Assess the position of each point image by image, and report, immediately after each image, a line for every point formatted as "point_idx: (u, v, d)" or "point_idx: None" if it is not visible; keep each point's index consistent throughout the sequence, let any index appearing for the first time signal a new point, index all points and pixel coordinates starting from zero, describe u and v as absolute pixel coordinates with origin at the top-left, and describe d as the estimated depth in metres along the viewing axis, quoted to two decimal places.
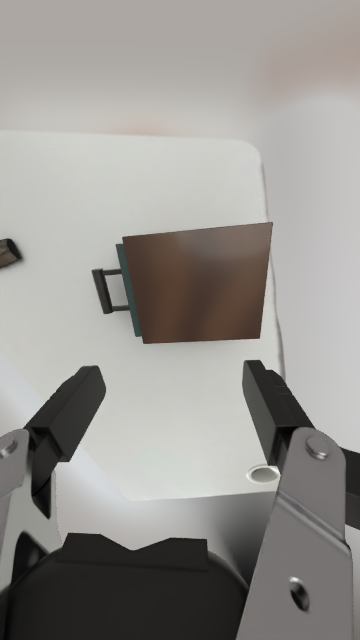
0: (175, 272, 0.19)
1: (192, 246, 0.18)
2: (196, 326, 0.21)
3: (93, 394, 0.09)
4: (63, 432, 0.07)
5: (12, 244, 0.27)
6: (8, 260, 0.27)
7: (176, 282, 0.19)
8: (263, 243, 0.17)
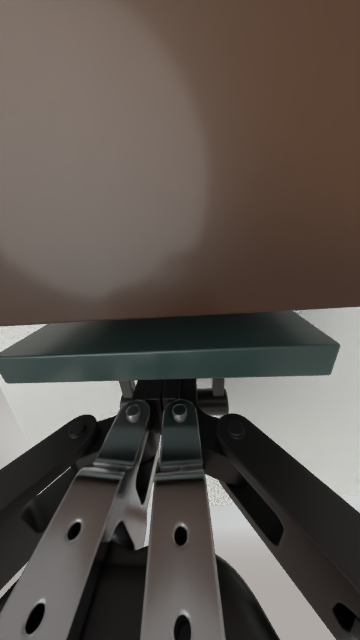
0: None
1: None
2: None
3: None
4: None
5: None
6: None
7: None
8: None
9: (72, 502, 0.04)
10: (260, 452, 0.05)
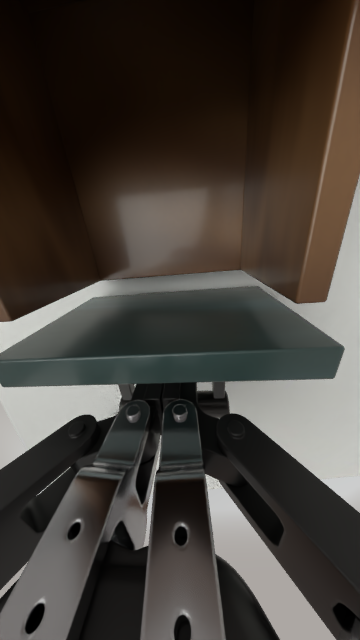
0: None
1: None
2: None
3: None
4: None
5: None
6: None
7: None
8: None
9: (72, 502, 0.04)
10: (260, 452, 0.05)
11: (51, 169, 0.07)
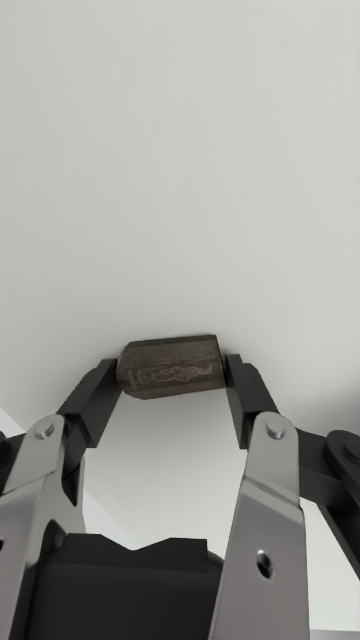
0: None
1: None
2: None
3: (114, 386, 0.10)
4: (91, 419, 0.07)
5: (219, 350, 0.09)
6: (199, 389, 0.10)
7: None
8: None
9: None
10: None
11: None
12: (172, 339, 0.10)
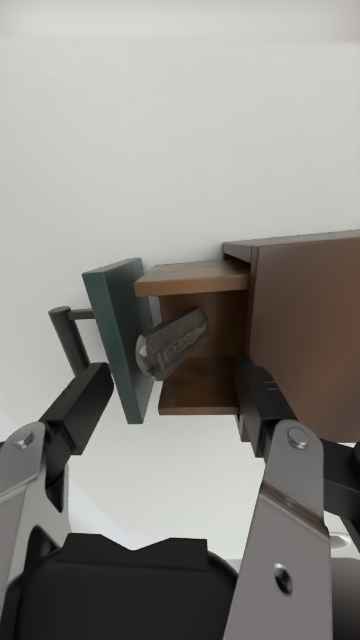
0: None
1: None
2: None
3: (102, 390, 0.09)
4: (76, 426, 0.07)
5: None
6: (197, 347, 0.14)
7: (355, 346, 0.09)
8: None
9: None
10: None
11: None
12: (172, 318, 0.12)
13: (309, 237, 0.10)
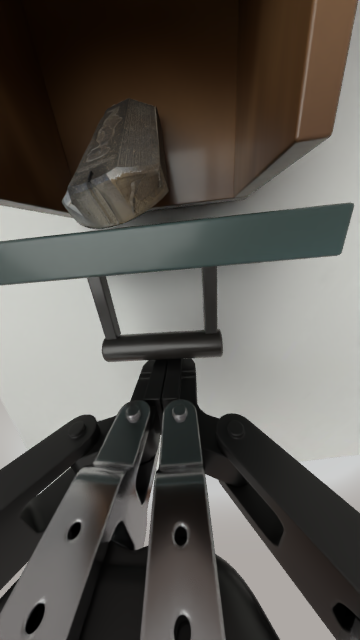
0: None
1: None
2: None
3: None
4: None
5: None
6: (151, 118, 0.07)
7: None
8: None
9: (72, 502, 0.04)
10: (260, 452, 0.05)
11: (16, 55, 0.07)
12: None
13: None
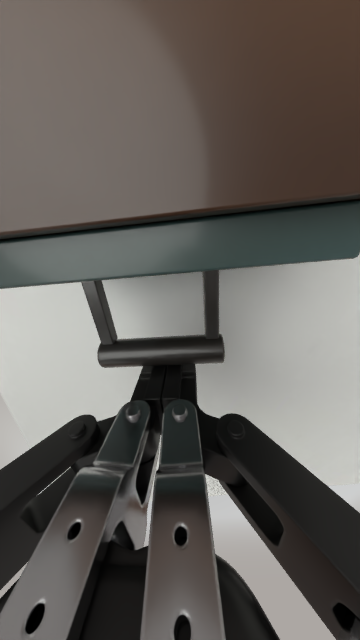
0: None
1: None
2: None
3: None
4: None
5: None
6: None
7: None
8: None
9: (72, 502, 0.04)
10: (260, 452, 0.05)
11: None
12: None
13: None
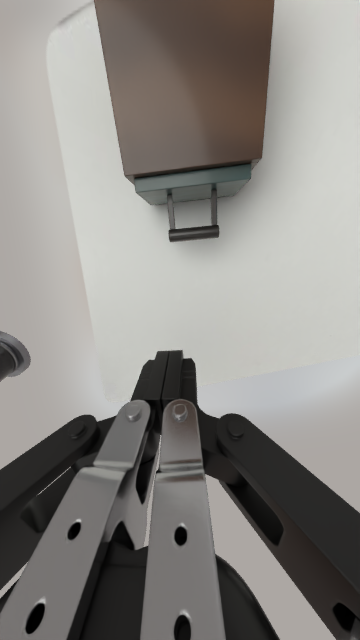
0: (156, 92, 0.14)
1: (123, 62, 0.14)
2: (241, 40, 0.13)
3: None
4: None
5: None
6: None
7: (170, 90, 0.14)
8: None
9: (72, 502, 0.04)
10: (260, 452, 0.05)
11: None
12: None
13: None
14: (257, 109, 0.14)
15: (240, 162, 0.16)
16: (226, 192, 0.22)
